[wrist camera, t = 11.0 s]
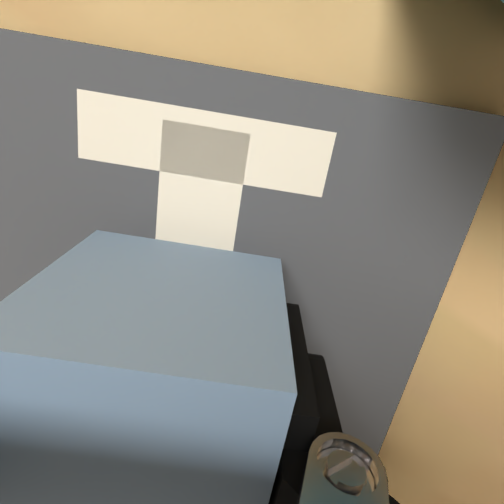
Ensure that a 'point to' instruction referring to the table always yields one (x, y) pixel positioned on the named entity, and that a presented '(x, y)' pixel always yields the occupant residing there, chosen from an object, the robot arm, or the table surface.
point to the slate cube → (145, 376)
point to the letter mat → (250, 190)
